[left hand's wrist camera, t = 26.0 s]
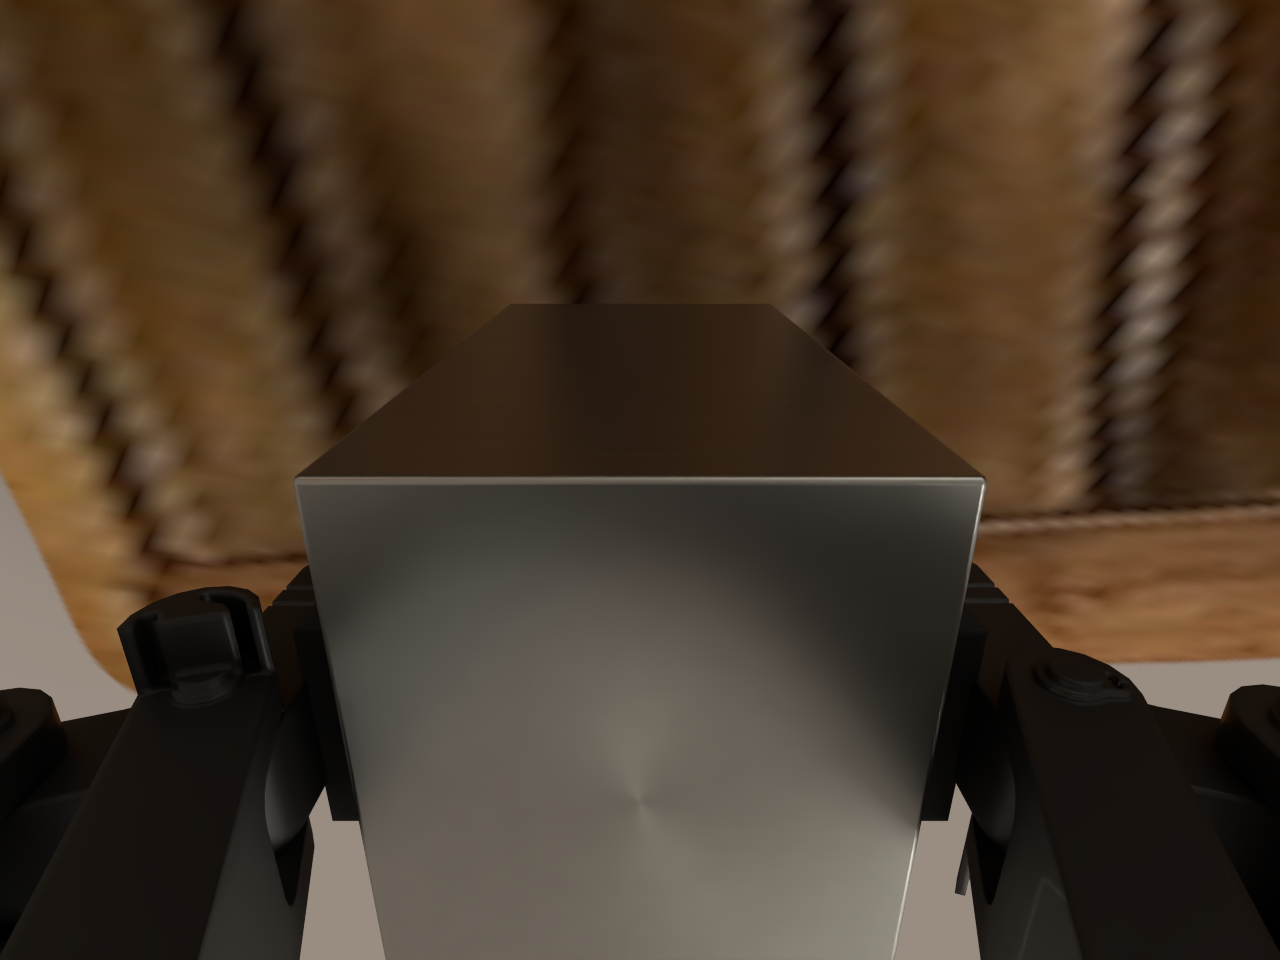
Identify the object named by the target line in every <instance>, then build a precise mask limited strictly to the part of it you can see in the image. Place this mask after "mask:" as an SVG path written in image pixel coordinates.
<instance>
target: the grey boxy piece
mask: <svg viewBox="0 0 1280 960" xmlns="http://www.w3.org/2000/svg"><path fill="white" fill-rule="evenodd" d="M293 485H294V491H295V496H296V501H297V506H298V511H299V516H300V521H301V526H302V532H303V537H304V542H305V547H306V552H307V557H308V562H309V568H310V573H311V578H312V583H313V588H314V593H315V598H316V604H317V609H318V614H319V619H320V624H321V629H322V634H323V639H324V645H325V650H326V655H327V660H328V665H329V670H330V675H331V681H332V686H333V691H334V696H335V701H336V706H337V711H338V716H339V722H340V727H341V732H342V737H343V742H344V747H345V752H346V758H347V763H348V768H349V773H350V778H351V783H352V788H353V794H354V799H355V804H356V809H357V814H358V819H359V824H360V829H361V835H362V840H363V845H364V850H365V855H366V860H367V865H368V871H369V876H370V881H371V886H372V891H373V896H374V901H375V907H376V912H377V917H378V922H379V927H380V932H381V937H382V942H383V948H384V953H385V958H386V960H894V959H895V954H896V949H897V943H898V938H899V933H900V928H901V923H902V918H903V913H904V908H905V902H906V897H907V892H908V887H909V882H910V877H911V872H912V866H913V861H914V856H915V851H916V846H917V841H918V836H919V831H920V825H921V820H922V815H923V810H924V805H925V800H926V795H927V790H928V785H929V779H930V774H931V769H932V764H933V759H934V754H935V749H936V743H937V738H938V733H939V728H940V723H941V718H942V713H943V708H944V702H945V697H946V692H947V687H948V682H949V677H950V672H951V666H952V661H953V656H954V651H955V646H956V641H957V636H958V631H959V625H960V620H961V615H962V610H963V605H964V600H965V595H966V590H967V584H968V579H969V574H970V569H971V564H972V559H973V554H974V548H975V543H976V538H977V533H978V528H979V523H980V518H981V513H982V507H983V502H984V497H985V492H986V487H987V482H986V478H985V476H983V475H982V474H981V473H980V472H978V471H977V470H976V469H975V468H973V467H972V466H971V465H970V464H968V463H967V462H966V461H965V460H963V459H962V458H961V457H960V456H958V455H957V454H956V453H955V452H953V451H952V450H951V449H950V448H949V447H947V446H946V445H945V444H944V443H942V442H941V441H940V440H939V439H937V438H936V437H935V436H934V435H932V434H931V433H930V432H929V431H927V430H926V429H925V428H924V427H922V426H921V425H920V424H919V423H917V422H916V421H915V420H914V419H912V418H911V417H910V416H909V415H907V414H906V413H905V412H904V411H903V410H901V409H900V408H899V407H898V406H896V405H895V404H894V403H893V402H891V401H890V400H889V399H888V398H886V397H885V396H884V395H883V394H881V393H880V392H879V391H878V390H876V389H875V388H874V387H873V386H871V385H870V384H869V383H868V382H866V381H865V380H864V379H863V378H861V377H860V376H859V375H858V374H857V373H855V372H854V371H853V370H852V369H850V368H849V367H848V366H847V365H845V364H844V363H843V362H842V361H840V360H839V359H838V358H837V357H835V356H834V355H833V354H832V353H830V352H829V351H828V350H827V349H825V348H824V347H823V346H822V345H820V344H819V343H818V342H817V341H815V340H814V339H813V338H812V337H811V336H809V335H808V334H807V333H806V332H804V331H803V330H802V329H801V328H799V327H798V326H797V325H796V324H794V323H793V322H792V321H791V320H789V319H788V318H787V317H786V316H784V315H783V314H782V313H781V312H779V311H778V310H777V309H776V308H774V307H773V306H772V305H770V304H511V305H509V306H508V307H507V308H505V309H504V310H503V311H502V312H500V313H499V314H498V315H497V316H495V317H494V318H493V319H492V320H490V321H489V322H488V323H487V324H485V325H484V326H483V327H482V328H480V329H479V330H478V331H477V332H475V333H474V334H473V335H472V336H470V337H469V338H468V339H467V340H465V341H464V342H463V343H462V344H460V345H459V346H458V347H457V348H455V349H454V350H453V351H452V352H450V353H449V354H448V355H447V356H445V357H444V358H443V359H442V360H440V361H439V362H438V363H437V364H435V365H434V366H433V367H432V368H430V369H429V370H428V371H427V372H425V373H424V374H423V375H422V376H420V377H419V378H418V379H417V380H415V381H414V382H413V383H412V384H410V385H409V386H408V387H407V388H405V389H404V390H403V391H402V392H400V393H399V394H398V395H397V396H395V397H394V398H393V399H392V400H390V401H389V402H388V403H387V404H385V405H384V406H383V407H382V408H380V409H379V410H378V411H377V412H375V413H374V414H373V415H372V416H370V417H369V418H368V419H367V420H365V421H364V422H363V423H362V424H360V425H359V426H358V427H357V428H355V429H354V430H353V431H352V432H350V433H349V434H348V435H347V436H345V437H344V438H343V439H342V440H340V441H339V442H338V443H337V444H335V445H334V446H333V447H332V448H330V449H329V450H328V451H327V452H325V453H324V454H323V455H322V456H320V457H319V458H318V459H317V460H315V461H314V462H313V463H312V464H310V465H309V466H308V467H307V468H305V469H304V470H303V471H302V472H300V473H299V474H298V475H297V476H295V478H294V483H293Z"/></svg>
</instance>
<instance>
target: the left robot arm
mask: <svg viewBox="0 0 1280 960" xmlns="http://www.w3.org/2000/svg"><path fill="white" fill-rule="evenodd" d="M272 603H273V604H272V606H268V607H267V608H266V610H265V611H264V612H263V613H262V609H261V605H260V600H259V597H258V596H257V595H255V594H254V593H252V592H251V591H250V590H248V589H243V588H237V587H232V586H222V587H205V588H200V589H196V590H191V591H186V592H181V593H178V594H175V595H172V596H169V597H167V598H164V599H161V600H159V601H156V602H153V603H151V604H149V605H148V606H146V607H144V608H142V609H141V610H139V611H137V612H135V613H134V614H132V615H130V616H129V617H128V618H127V619H126V620H125V621H124V622H123V623H122V624H121V625H120V626H119V627H118V628H117V631H118V634H119V637H120V640H121V643H122V646H123V650H124V653H125V656H126V659H127V662H128V665H129V668H130V671H131V675H132V678H133V681H134V684H135V687H136V690H137V693H138V696H137V698H136V700H135V702H134V703H133V705H132V707H131V708H129V709H125V710H120V711H114V712H109V713H104V714H99V715H94V716H89V717H84V718H79V719H74V720H68V721H63V722H61V721H60V718H59V715H58V713H57V710H56V708H55V705H54V702H53V699H52V697H50V696H49V695H47V694H46V693H44V692H43V691H42V690H38V689H28V688H13V689H7V690H0V960H300V952H301V945H302V937H303V930H304V922H305V914H306V907H307V899H308V892H309V884H310V876H311V869H312V862H313V854H314V840H313V833H312V828H311V824H310V819H309V814H310V813H311V811H312V809H313V807H314V805H315V803H316V802H317V800H318V798H319V796H320V794H321V792H322V790H323V788H324V787H326V791H327V796H328V801H329V806H330V810H331V815H332V820H333V821H359V819H358V814H357V809H356V804H355V799H354V794H353V788H352V783H351V778H350V773H349V768H348V763H347V758H346V752H345V747H344V742H343V737H342V732H341V727H340V722H339V716H338V711H337V706H336V701H335V696H334V691H333V686H332V681H331V675H330V670H329V665H328V660H327V655H326V650H325V645H324V639H323V634H322V629H321V624H320V619H319V614H318V609H317V604H316V598H315V593H314V588H313V583H312V578H311V573H310V568H309V565H308V566H306V567H304V568H303V569H302V570H301V571H300V572H299V574H298V575H297V576H296V577H295V578H294V579H293V580H292V581H291V582H290V583H289V584H288V586H287V590H283V591H282V592H281V593H280V594H279V595H278V596H277V598H276V599H275V600H274V601H273V602H272ZM956 784H957V786H958V787H959V789H960V791H961V793H962V795H963V797H964V798H965V801H966V802H967V804H968V806H969V808H970V810H971V812H972V815H971V819H970V824H969V828H968V832H967V837H966V841H965V845H964V850H963V854H962V859H961V863H960V867H959V872H958V876H957V882H956V889H955V893H957V894H960V895H965V893H966V889H967V885H968V881H969V879H970V882H971V890H972V897H973V905H974V912H975V920H976V927H977V935H978V943H979V950H980V958H981V960H1280V687H1277V686H1270V685H1263V684H1262V685H1252V686H1242V687H1240V688H1239V689H1237V690H1236V691H1234V692H1233V693H1231V694H1230V696H1229V699H1228V701H1227V704H1226V707H1225V709H1224V712H1223V715H1222V717H1221V719H1218V718H1213V717H1208V716H1203V715H1198V714H1193V713H1188V712H1183V711H1177V710H1173V709H1167V708H1162V707H1157V706H1153V705H1149V704H1147V702H1146V700H1145V698H1144V696H1143V695H1142V693H1141V692H1140V691H1139V690H1138V688H1137V687H1136V686H1135V685H1134V684H1133V682H1132V681H1131V680H1130V679H1129V678H1127V677H1126V676H1124V675H1123V674H1121V673H1120V672H1118V671H1117V670H1115V669H1114V668H1113V667H1111V666H1110V665H1108V664H1105V663H1103V662H1101V661H1098V660H1096V659H1094V658H1091V657H1089V656H1087V655H1084V654H1080V653H1076V652H1072V651H1068V650H1064V649H1060V648H1053V647H1052V646H1051V645H1050V644H1049V643H1048V641H1047V640H1046V639H1045V638H1044V637H1043V636H1042V635H1041V634H1040V633H1039V632H1038V631H1037V630H1036V628H1035V627H1034V626H1033V625H1032V624H1031V623H1030V622H1029V621H1028V620H1027V619H1026V618H1025V617H1024V615H1023V614H1022V613H1021V612H1020V611H1019V610H1018V609H1017V608H1016V607H1015V606H1014V605H1013V604H1012V603H1009V599H1008V598H1007V597H1006V596H1005V595H1004V594H1003V593H1002V592H1001V590H1000V589H999V588H995V586H994V583H993V582H992V581H991V580H990V579H989V577H988V576H987V575H986V574H985V573H984V572H983V571H982V570H981V569H980V568H979V567H978V566H977V565H976V564H974V563H972V564H971V569H970V574H969V579H968V584H967V590H966V595H965V600H964V605H963V610H962V615H961V620H960V625H959V631H958V636H957V641H956V646H955V651H954V656H953V661H952V666H951V672H950V677H949V682H948V687H947V692H946V697H945V702H944V708H943V713H942V718H941V723H940V728H939V733H938V738H937V743H936V749H935V754H934V759H933V764H932V769H931V774H930V779H929V785H928V790H927V795H926V800H925V805H924V810H923V815H922V820H921V821H948V818H949V813H950V808H951V804H952V799H953V794H954V790H955V785H956Z"/></svg>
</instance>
